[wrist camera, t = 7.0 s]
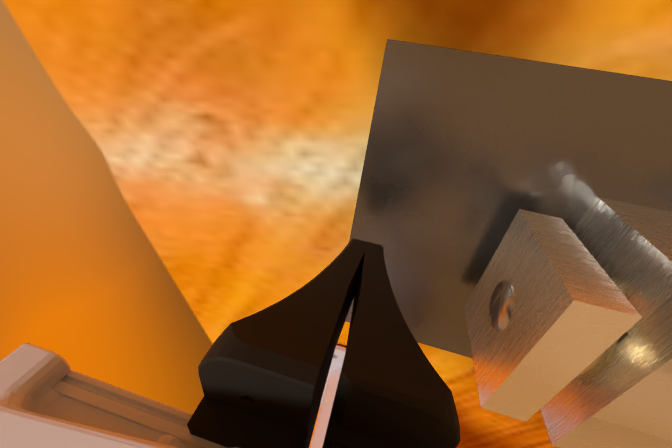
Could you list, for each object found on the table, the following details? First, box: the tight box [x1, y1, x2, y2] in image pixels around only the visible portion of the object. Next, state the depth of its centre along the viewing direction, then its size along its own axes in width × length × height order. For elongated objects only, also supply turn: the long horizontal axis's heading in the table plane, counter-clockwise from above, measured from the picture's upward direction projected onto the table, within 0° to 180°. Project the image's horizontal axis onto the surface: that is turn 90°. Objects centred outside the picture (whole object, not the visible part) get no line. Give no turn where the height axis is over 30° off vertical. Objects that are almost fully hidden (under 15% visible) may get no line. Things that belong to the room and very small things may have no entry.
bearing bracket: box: [345, 39, 672, 448], centre depth 11 cm, size 16×20×7 cm
